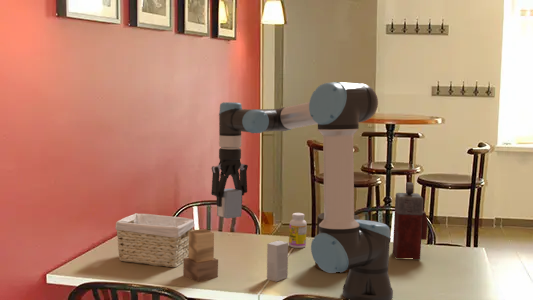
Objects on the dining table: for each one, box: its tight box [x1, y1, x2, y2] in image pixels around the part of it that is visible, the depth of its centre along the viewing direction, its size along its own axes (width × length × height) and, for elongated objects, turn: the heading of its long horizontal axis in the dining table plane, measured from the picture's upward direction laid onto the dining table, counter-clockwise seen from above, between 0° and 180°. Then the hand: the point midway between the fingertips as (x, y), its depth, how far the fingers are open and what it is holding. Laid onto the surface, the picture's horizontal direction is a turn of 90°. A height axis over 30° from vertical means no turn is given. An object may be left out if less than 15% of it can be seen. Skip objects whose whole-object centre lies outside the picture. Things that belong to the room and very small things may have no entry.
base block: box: [182, 257, 219, 282], centre depth 221 cm, size 8×8×6 cm
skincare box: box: [266, 240, 289, 282], centre depth 220 cm, size 6×4×12 cm
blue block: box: [216, 187, 243, 219], centre depth 231 cm, size 6×6×9 cm
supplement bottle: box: [288, 212, 308, 249], centre depth 262 cm, size 7×7×13 cm
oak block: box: [188, 228, 215, 262], centre depth 220 cm, size 6×6×9 cm
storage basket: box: [115, 212, 195, 268], centre depth 238 cm, size 24×16×15 cm
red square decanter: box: [392, 182, 428, 260], centre depth 251 cm, size 9×11×28 cm
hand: (229, 214), depth 232 cm, fingers closed on blue block, 6 cm apart
